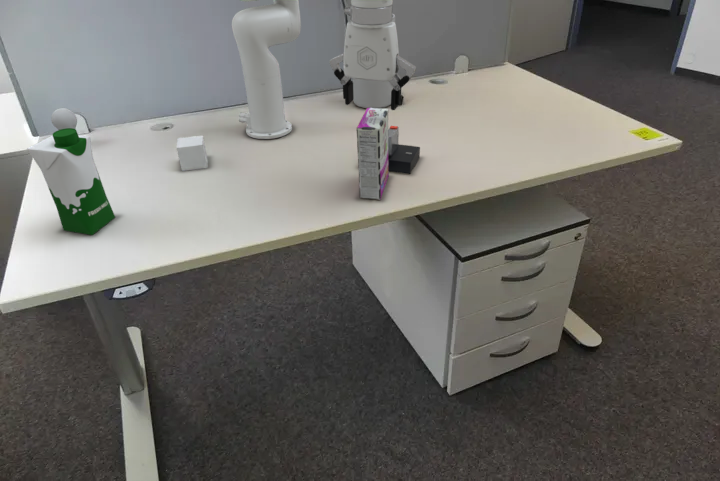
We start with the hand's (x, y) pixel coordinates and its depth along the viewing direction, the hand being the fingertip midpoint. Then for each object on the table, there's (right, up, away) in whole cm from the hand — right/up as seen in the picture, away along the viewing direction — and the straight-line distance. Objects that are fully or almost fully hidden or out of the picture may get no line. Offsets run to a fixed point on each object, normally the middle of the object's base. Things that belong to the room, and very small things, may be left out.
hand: (371, 105), depth 105 cm
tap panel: (+5, -9, +20) cm, 23 cm away
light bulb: (-79, -2, +35) cm, 87 cm away
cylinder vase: (+2, +15, +56) cm, 58 cm away
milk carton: (-58, -24, +1) cm, 62 cm away
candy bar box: (+1, -16, +10) cm, 19 cm away
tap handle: (+5, -6, +19) cm, 20 cm away
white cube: (-43, -9, +23) cm, 49 cm away
